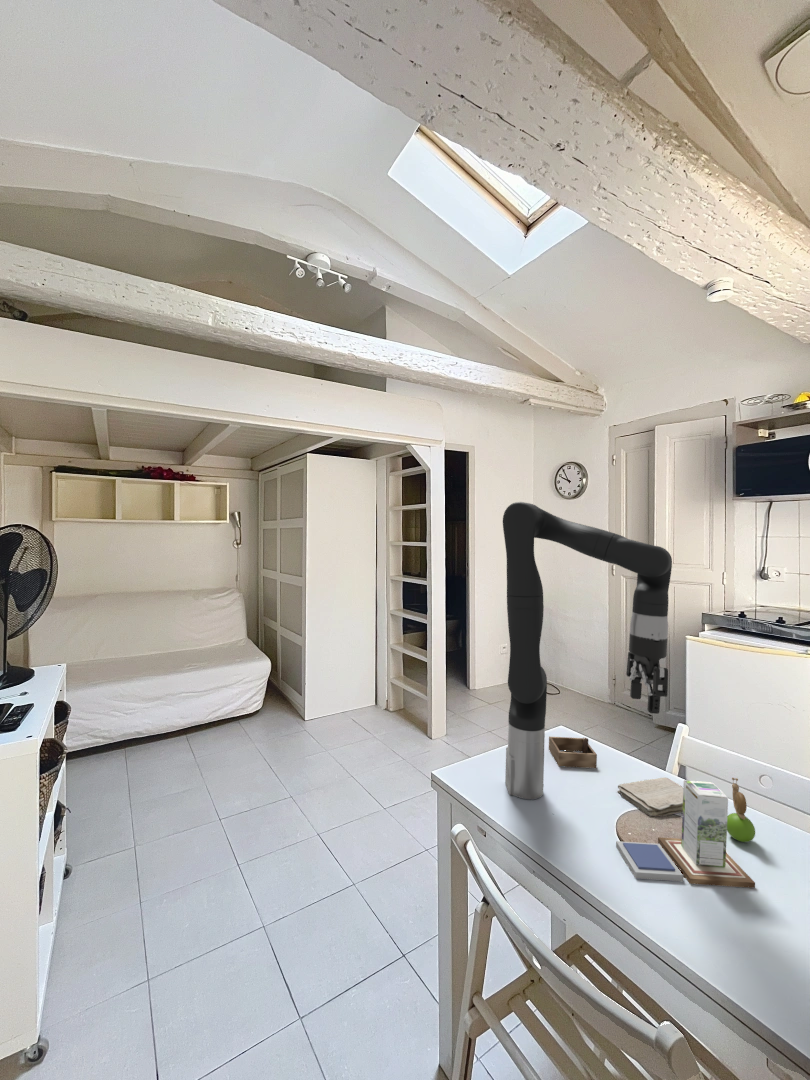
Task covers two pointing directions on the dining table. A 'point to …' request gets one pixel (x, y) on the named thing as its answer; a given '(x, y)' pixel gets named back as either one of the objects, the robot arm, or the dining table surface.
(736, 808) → the snail figurine
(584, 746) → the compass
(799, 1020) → the dining table surface
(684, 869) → the board
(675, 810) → the washcloth
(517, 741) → the robot arm
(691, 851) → the syrup box
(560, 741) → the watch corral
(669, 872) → the ink pad
